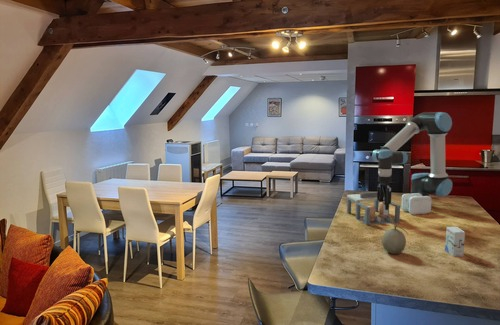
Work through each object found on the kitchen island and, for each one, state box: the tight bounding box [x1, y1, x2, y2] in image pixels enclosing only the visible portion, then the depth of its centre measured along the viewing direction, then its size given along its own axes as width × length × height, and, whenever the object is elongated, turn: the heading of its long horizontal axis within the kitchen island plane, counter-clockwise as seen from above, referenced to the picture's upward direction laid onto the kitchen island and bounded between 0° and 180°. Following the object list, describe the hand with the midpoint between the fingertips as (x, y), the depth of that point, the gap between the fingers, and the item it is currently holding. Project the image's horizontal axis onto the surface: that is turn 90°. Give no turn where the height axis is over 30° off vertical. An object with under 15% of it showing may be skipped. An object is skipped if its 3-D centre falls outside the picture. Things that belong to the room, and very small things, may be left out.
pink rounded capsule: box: [378, 201, 387, 218], centre depth 234 cm, size 5×5×9 cm
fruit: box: [381, 219, 409, 255], centre depth 183 cm, size 10×12×15 cm
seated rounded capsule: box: [367, 204, 376, 222], centre depth 233 cm, size 5×5×9 cm
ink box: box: [444, 226, 466, 257], centre depth 182 cm, size 9×5×12 cm, turn 178°
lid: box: [346, 191, 384, 202], centre depth 246 cm, size 21×14×4 cm
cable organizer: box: [400, 193, 432, 216], centre depth 252 cm, size 15×11×12 cm
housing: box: [346, 196, 401, 226], centre depth 240 cm, size 21×27×11 cm
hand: (383, 213), depth 234 cm, fingers closed on pink rounded capsule, 4 cm apart
